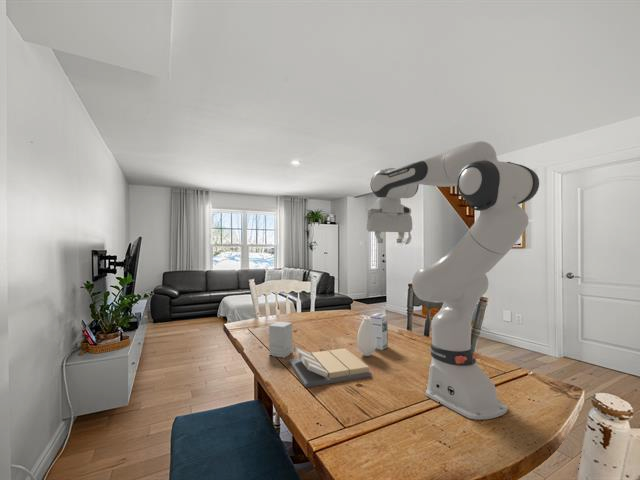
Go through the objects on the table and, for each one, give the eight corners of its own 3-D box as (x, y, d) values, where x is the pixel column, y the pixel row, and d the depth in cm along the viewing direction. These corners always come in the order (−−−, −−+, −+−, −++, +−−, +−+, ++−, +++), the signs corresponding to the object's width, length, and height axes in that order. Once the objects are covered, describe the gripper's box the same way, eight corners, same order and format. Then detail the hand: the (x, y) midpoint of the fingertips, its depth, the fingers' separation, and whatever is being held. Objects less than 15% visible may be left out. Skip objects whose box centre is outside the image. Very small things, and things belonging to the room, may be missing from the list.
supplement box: (293, 352, 128) (292, 322, 128) (283, 358, 121) (283, 327, 121) (278, 350, 131) (278, 320, 131) (268, 355, 124) (268, 325, 124)
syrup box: (382, 350, 130) (382, 316, 130) (370, 347, 133) (370, 314, 133) (388, 346, 134) (387, 314, 134) (376, 344, 138) (375, 312, 138)
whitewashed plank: (326, 377, 100) (328, 373, 100) (308, 369, 97) (310, 365, 98) (308, 356, 118) (310, 352, 119) (292, 349, 116) (294, 346, 117)
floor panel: (371, 376, 104) (371, 367, 104) (305, 387, 96) (305, 378, 96) (345, 354, 125) (345, 347, 125) (288, 362, 117) (288, 354, 117)
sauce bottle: (354, 357, 122) (354, 312, 122) (361, 351, 129) (360, 309, 129) (373, 360, 118) (372, 314, 119) (378, 354, 125) (378, 310, 126)
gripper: (372, 207, 115) (372, 243, 115) (414, 209, 123) (414, 243, 123) (363, 209, 121) (363, 243, 121) (404, 211, 129) (404, 243, 129)
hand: (389, 243), depth 122 cm, fingers open, 8 cm apart
